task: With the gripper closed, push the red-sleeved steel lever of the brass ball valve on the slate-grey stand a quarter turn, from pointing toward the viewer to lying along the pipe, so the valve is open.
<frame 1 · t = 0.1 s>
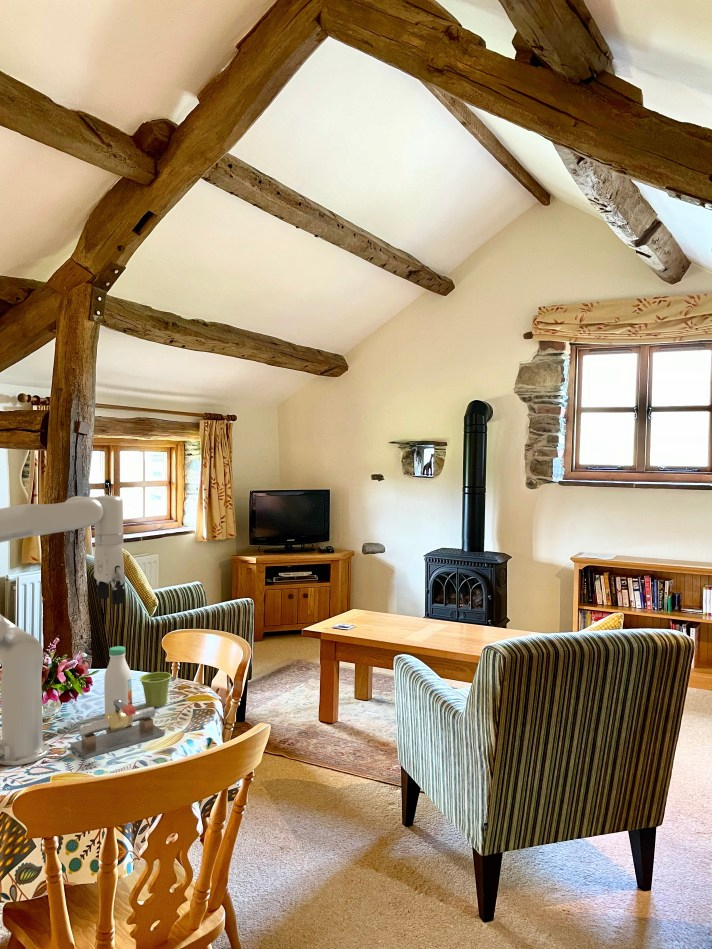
hand: (110, 601, 196), 37 cm above the table, tool pointing down, fingers open, 9 cm apart
plant pot: (156, 705, 218), on the table
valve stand: (118, 741, 190), on the table
valve lever: (123, 706, 187), point 10 cm above the table, hinge at 0.0°
milk bottle: (118, 714, 210), on the table
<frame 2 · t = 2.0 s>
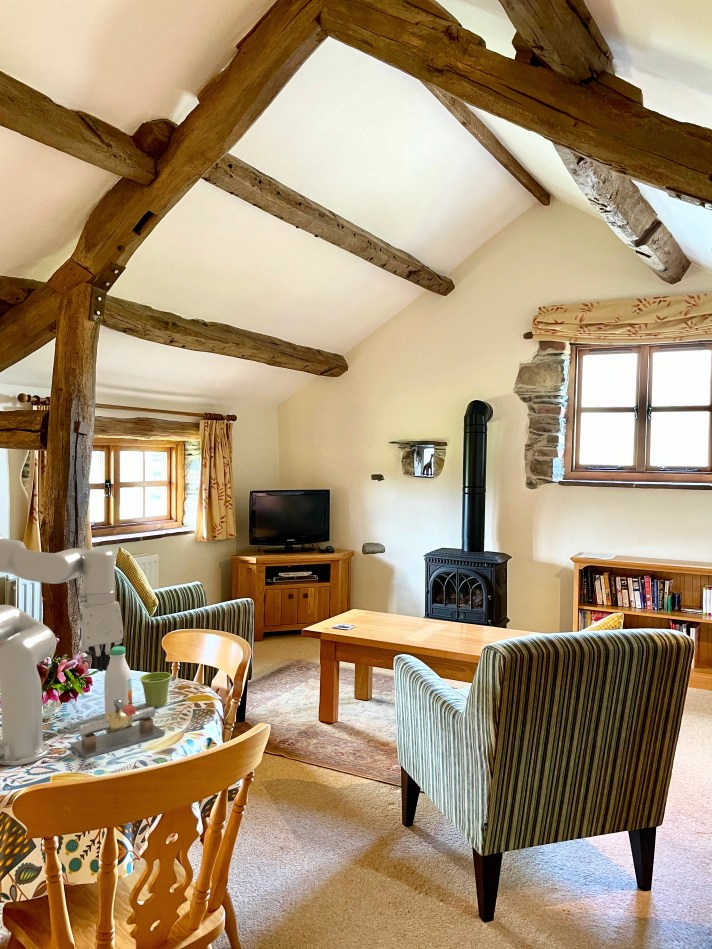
hand: (101, 669, 180), 23 cm above the table, tool pointing down, fingers closed
nothing on the table moved.
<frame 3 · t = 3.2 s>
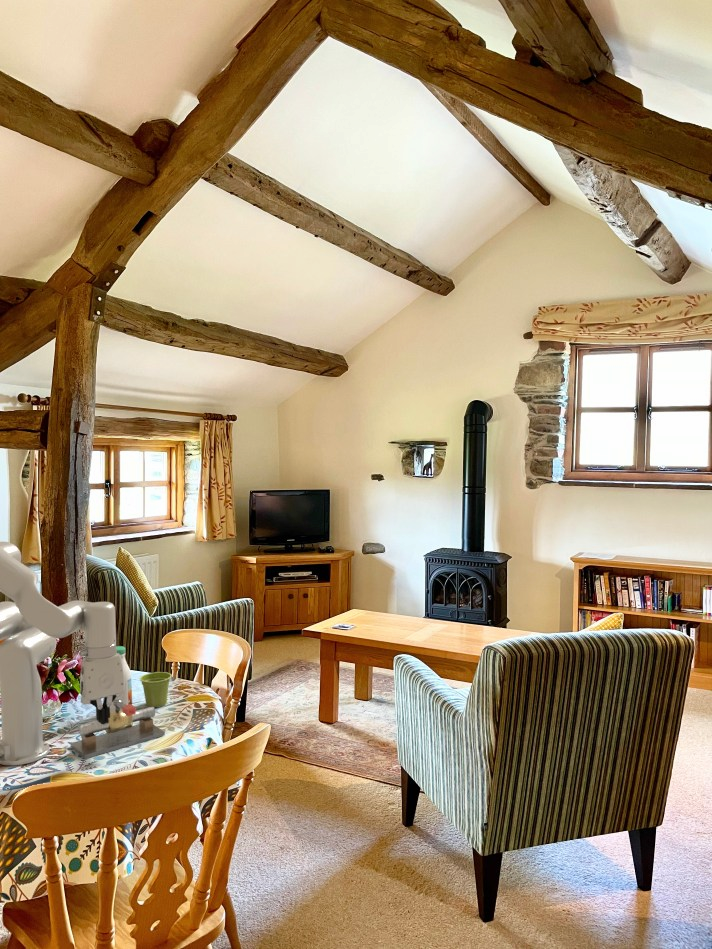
hand: (103, 722, 180), 9 cm above the table, tool pointing down, fingers closed
nothing on the table moved.
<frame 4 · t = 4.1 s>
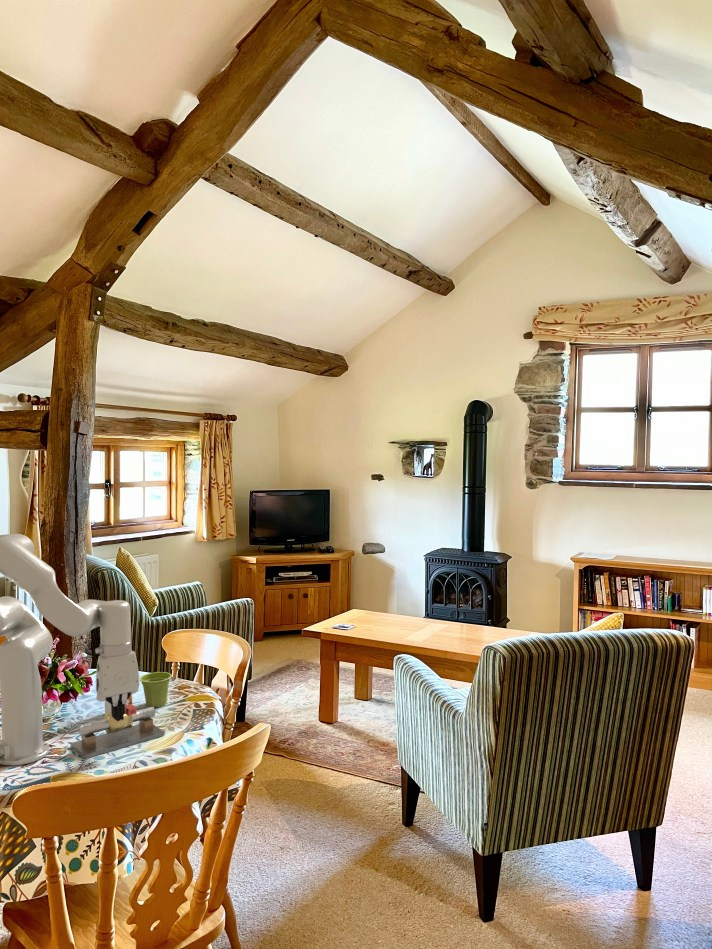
hand: (118, 718, 183), 9 cm above the table, tool pointing down, fingers closed
valve lever: (124, 706, 187), point 10 cm above the table, hinge at 1.8°, touching gripper
everything else where it was.
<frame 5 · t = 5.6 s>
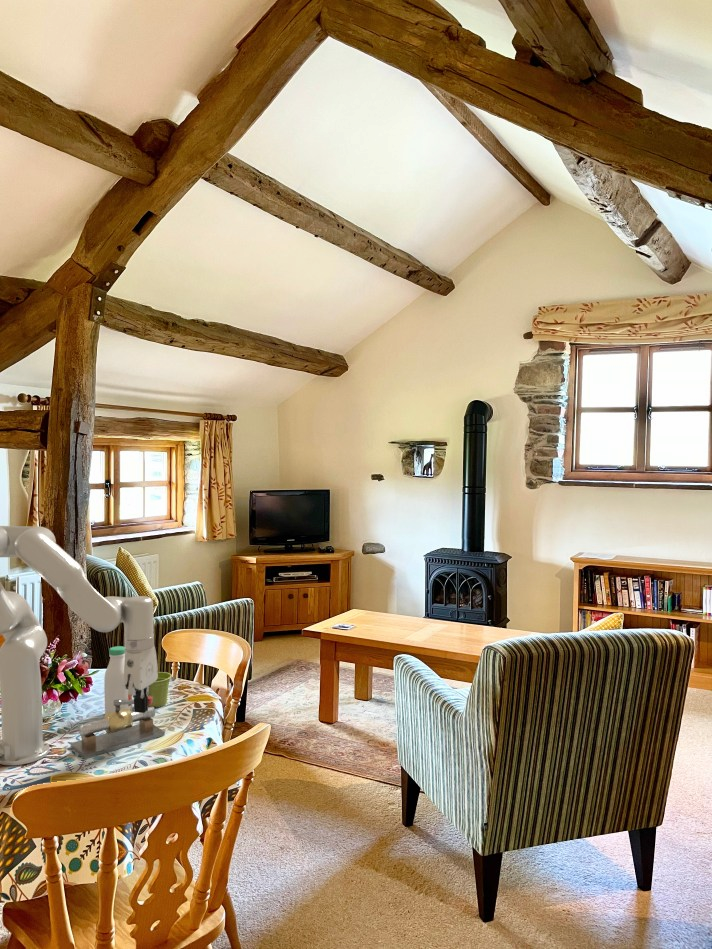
hand: (141, 711, 188), 9 cm above the table, tool pointing down, fingers closed
valve lever: (132, 701, 191), point 10 cm above the table, hinge at 58.1°, touching gripper
everything else where it was.
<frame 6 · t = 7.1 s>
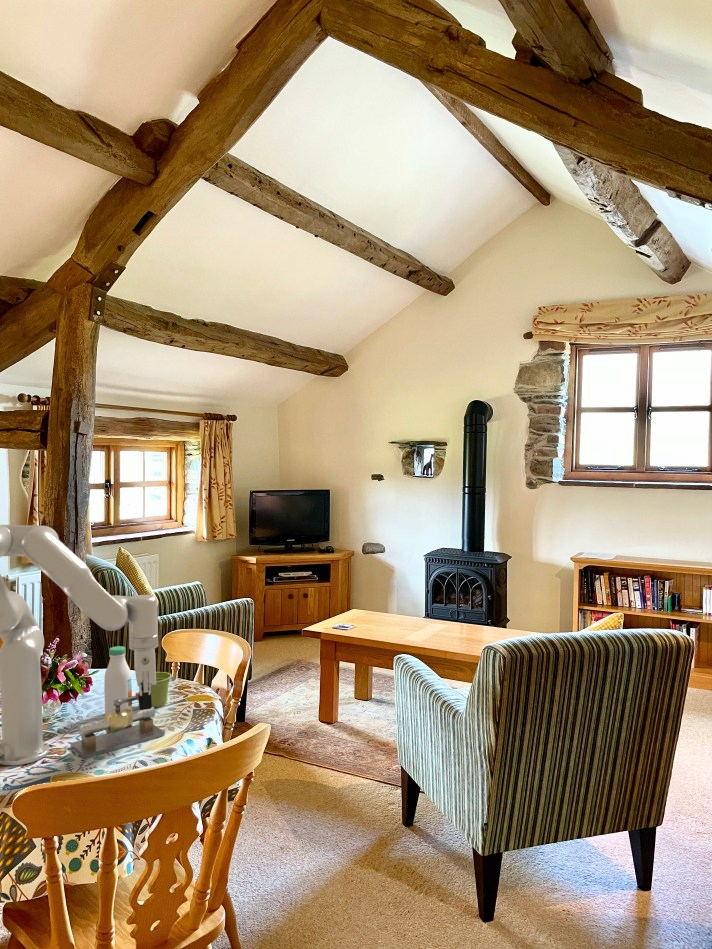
hand: (145, 708, 191), 9 cm above the table, tool pointing down, fingers closed
valve lever: (131, 698, 193), point 10 cm above the table, hinge at 93.7°
everything else where it was.
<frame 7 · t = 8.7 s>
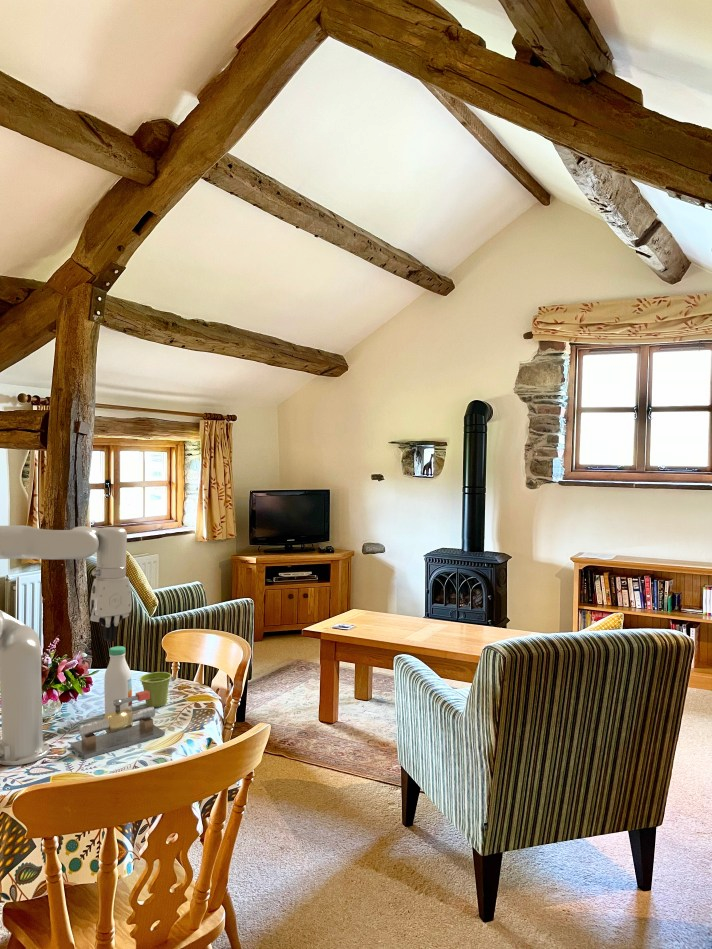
hand: (109, 640, 190), 27 cm above the table, tool pointing down, fingers closed
nothing on the table moved.
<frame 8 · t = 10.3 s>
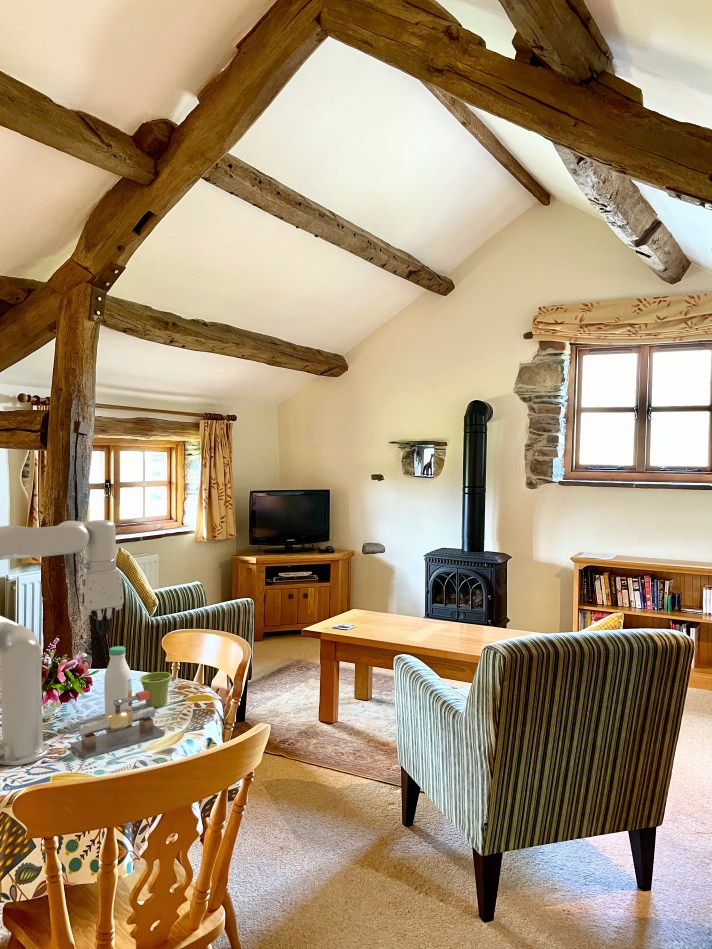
hand: (103, 633, 191), 29 cm above the table, tool pointing down, fingers closed
nothing on the table moved.
at the end: valve lever at +94° (first picture: +0°) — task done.
